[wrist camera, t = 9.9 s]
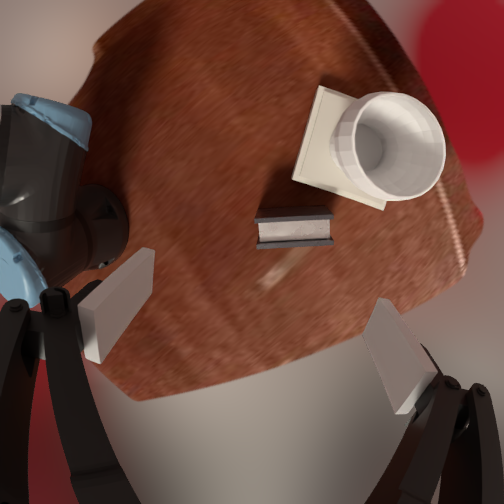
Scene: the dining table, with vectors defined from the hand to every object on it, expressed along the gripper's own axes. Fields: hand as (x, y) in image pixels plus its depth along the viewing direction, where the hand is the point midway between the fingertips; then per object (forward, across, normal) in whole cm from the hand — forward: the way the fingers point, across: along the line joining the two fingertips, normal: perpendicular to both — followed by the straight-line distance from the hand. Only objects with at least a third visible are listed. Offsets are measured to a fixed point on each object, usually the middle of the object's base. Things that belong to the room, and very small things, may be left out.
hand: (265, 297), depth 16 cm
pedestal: (+28, +10, +11) cm, 32 cm away
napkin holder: (+28, +4, -1) cm, 28 cm away
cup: (+24, +10, +11) cm, 28 cm away
